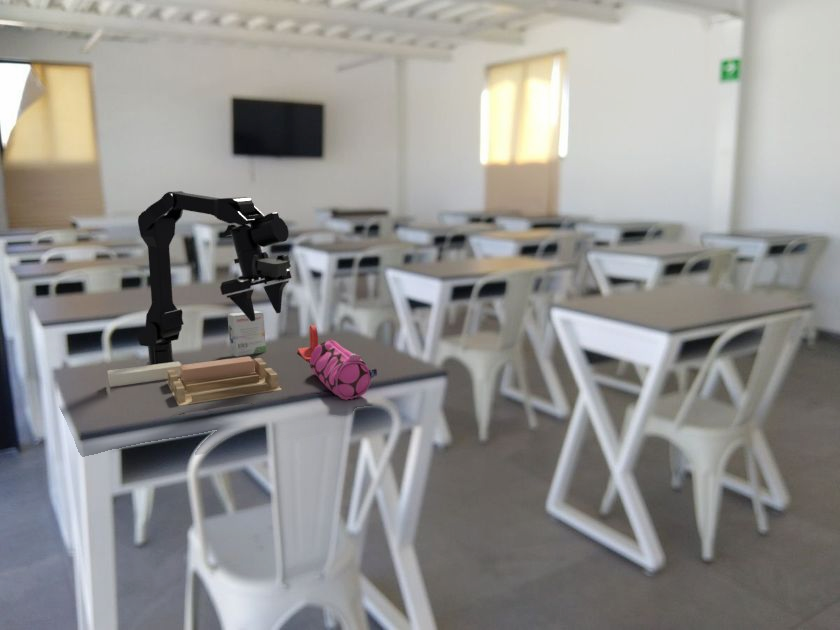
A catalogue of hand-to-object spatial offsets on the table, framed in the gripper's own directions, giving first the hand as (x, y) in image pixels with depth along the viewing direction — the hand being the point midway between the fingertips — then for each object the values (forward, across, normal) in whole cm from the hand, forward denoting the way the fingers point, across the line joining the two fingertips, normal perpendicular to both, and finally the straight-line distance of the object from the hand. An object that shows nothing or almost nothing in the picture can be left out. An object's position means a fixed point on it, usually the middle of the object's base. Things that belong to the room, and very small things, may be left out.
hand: (266, 316), depth 163 cm
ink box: (+10, +16, +23) cm, 30 cm away
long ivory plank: (+9, -14, +29) cm, 33 cm away
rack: (+14, -10, +9) cm, 19 cm away
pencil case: (+20, +2, -14) cm, 24 cm away
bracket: (+14, +22, +8) cm, 27 cm away
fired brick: (+12, -7, +13) cm, 19 cm away
